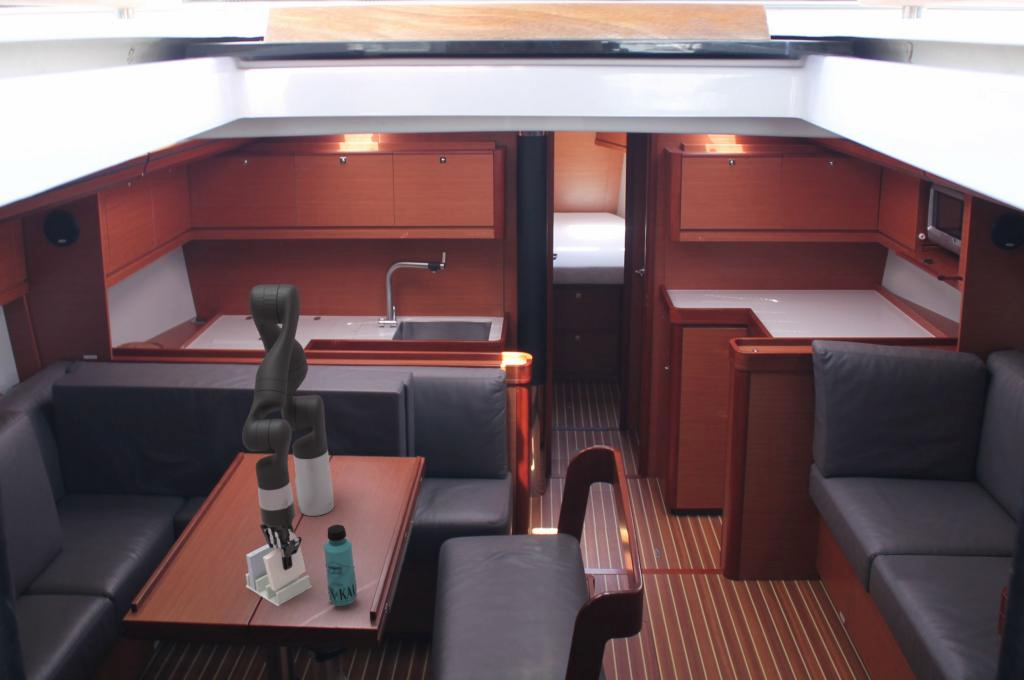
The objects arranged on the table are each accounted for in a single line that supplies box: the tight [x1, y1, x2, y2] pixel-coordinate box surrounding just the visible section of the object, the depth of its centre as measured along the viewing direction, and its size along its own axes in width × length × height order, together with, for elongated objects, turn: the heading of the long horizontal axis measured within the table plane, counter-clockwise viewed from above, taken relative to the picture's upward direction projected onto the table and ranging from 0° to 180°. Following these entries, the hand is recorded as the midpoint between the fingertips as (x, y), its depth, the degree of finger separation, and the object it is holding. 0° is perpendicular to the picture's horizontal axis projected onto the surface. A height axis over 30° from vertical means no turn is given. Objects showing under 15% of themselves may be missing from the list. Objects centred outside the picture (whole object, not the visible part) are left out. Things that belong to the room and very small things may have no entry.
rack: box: [245, 572, 313, 607], centre depth 230 cm, size 10×13×4 cm
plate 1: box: [245, 543, 274, 590], centre depth 231 cm, size 2×9×9 cm, turn 138°
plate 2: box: [263, 545, 307, 591], centre depth 225 cm, size 2×9×9 cm, turn 139°
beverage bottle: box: [323, 524, 358, 607], centre depth 221 cm, size 6×7×20 cm
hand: (285, 566), depth 225 cm, fingers closed on plate 2, 1 cm apart
